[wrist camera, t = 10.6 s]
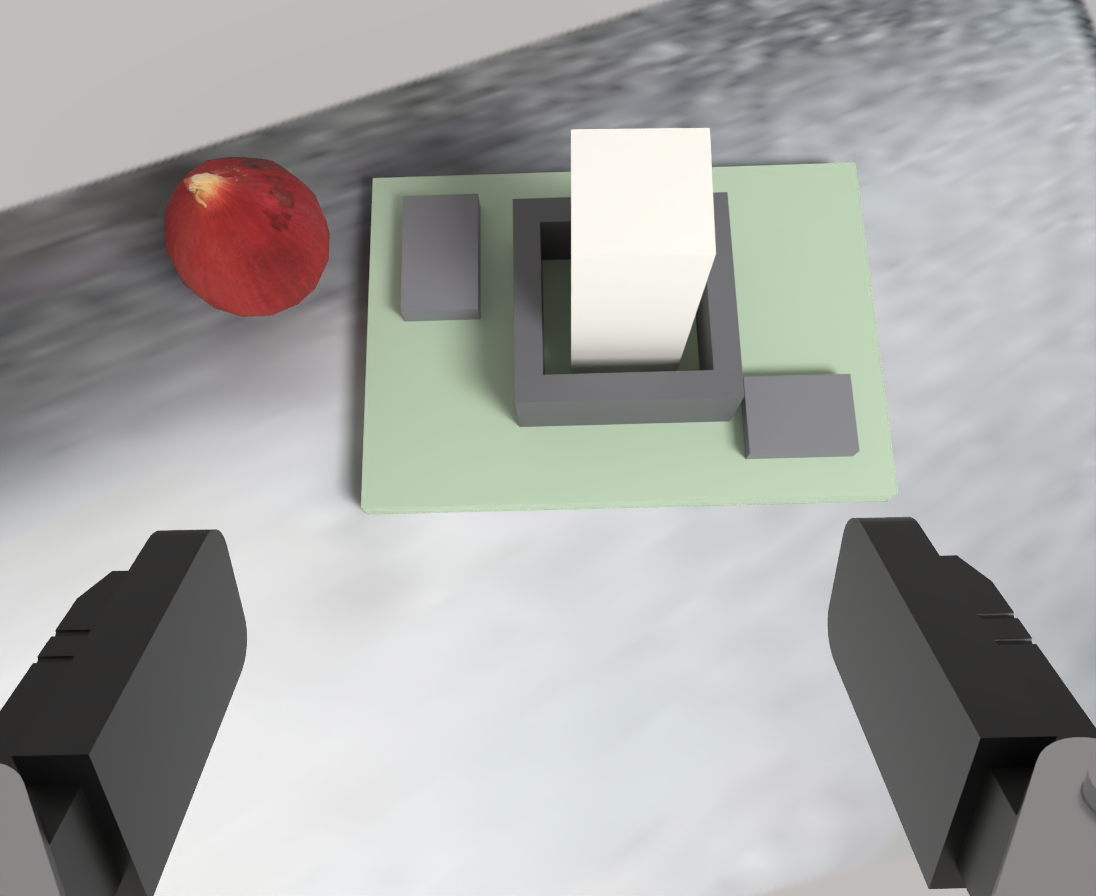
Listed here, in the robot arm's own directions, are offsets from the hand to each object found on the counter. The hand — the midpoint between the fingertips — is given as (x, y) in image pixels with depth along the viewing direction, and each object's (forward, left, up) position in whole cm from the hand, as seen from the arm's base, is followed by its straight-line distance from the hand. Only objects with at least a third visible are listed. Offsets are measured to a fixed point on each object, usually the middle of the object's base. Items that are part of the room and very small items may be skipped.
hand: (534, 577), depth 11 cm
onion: (-11, +15, -22) cm, 29 cm away
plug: (+3, +12, -21) cm, 24 cm away
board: (+3, +12, -22) cm, 25 cm away
